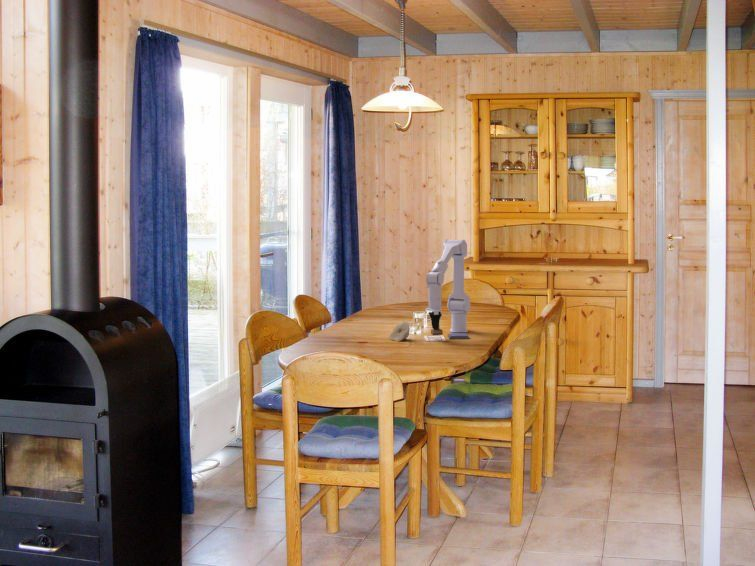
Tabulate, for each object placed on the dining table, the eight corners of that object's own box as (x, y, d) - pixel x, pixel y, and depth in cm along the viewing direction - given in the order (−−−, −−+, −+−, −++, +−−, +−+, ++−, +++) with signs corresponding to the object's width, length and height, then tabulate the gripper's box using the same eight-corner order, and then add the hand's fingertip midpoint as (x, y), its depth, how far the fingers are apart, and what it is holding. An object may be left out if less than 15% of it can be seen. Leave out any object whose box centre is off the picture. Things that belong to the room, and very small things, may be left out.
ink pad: (447, 335, 432) (447, 333, 432) (467, 335, 433) (467, 332, 432) (449, 339, 423) (449, 336, 423) (469, 338, 424) (469, 336, 423)
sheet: (423, 336, 433) (423, 335, 433) (443, 335, 433) (443, 335, 433) (425, 341, 419) (425, 340, 419) (445, 340, 419) (445, 340, 419)
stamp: (431, 333, 424) (430, 321, 423) (440, 333, 425) (440, 320, 424) (433, 335, 420) (432, 322, 419) (442, 334, 420) (442, 322, 420)
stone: (389, 344, 420) (385, 324, 425) (394, 348, 426) (390, 329, 430) (410, 336, 417) (406, 317, 422) (415, 342, 423) (411, 322, 428)
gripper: (424, 296, 428) (425, 326, 429) (427, 300, 413) (427, 331, 415) (440, 296, 428) (440, 325, 429) (443, 300, 413) (443, 330, 415)
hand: (435, 328), depth 422 cm, fingers closed on stamp, 3 cm apart
